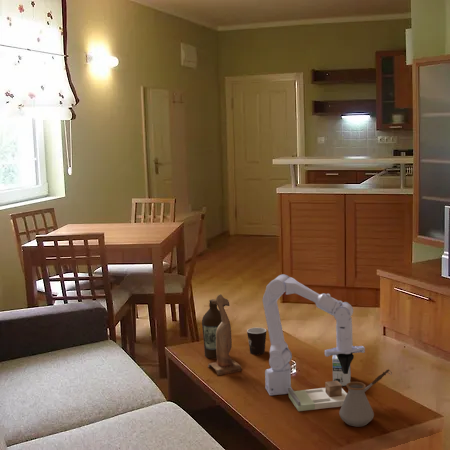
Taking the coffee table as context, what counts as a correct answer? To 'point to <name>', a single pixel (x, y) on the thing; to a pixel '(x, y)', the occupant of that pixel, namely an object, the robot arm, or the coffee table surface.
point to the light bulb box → (340, 372)
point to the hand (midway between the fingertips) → (345, 373)
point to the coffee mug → (256, 340)
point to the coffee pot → (358, 404)
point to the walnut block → (333, 388)
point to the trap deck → (315, 399)
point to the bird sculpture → (224, 342)
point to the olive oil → (211, 329)
